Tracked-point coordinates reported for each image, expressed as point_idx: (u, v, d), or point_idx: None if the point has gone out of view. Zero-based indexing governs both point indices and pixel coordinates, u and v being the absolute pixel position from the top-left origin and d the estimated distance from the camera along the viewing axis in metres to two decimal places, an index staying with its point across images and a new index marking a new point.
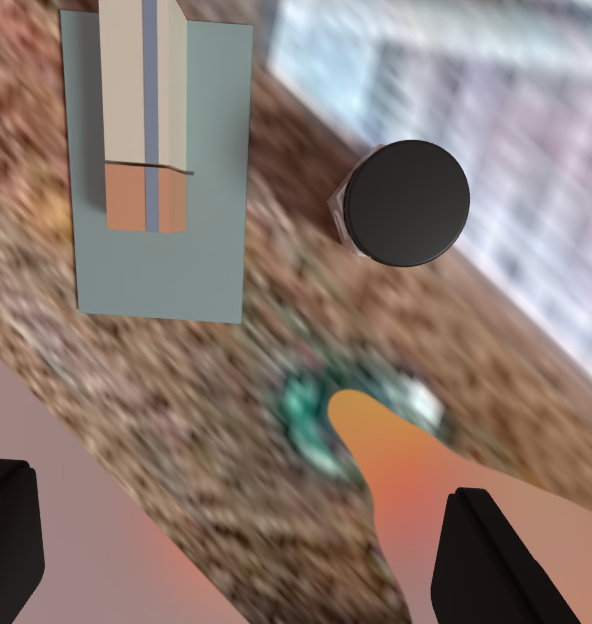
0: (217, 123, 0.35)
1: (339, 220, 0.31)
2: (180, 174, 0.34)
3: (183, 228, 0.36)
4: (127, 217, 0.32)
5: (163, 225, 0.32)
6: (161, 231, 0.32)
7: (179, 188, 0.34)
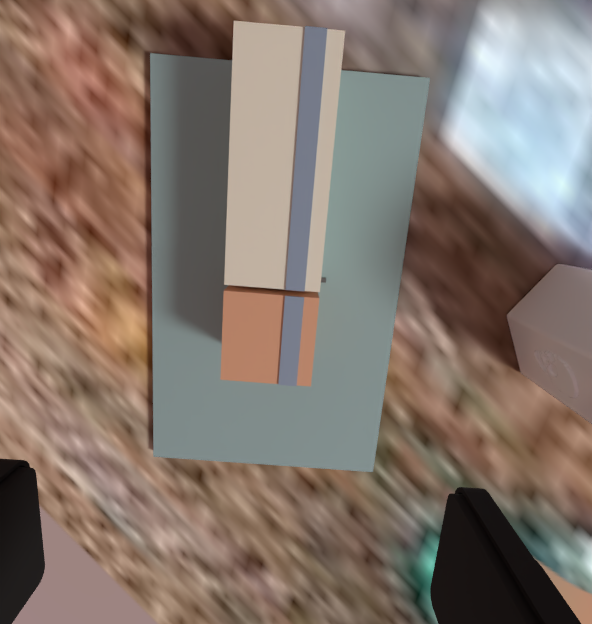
0: (365, 213, 0.25)
1: (573, 376, 0.21)
2: None
3: None
4: (250, 365, 0.22)
5: (303, 376, 0.22)
6: (300, 384, 0.22)
7: None
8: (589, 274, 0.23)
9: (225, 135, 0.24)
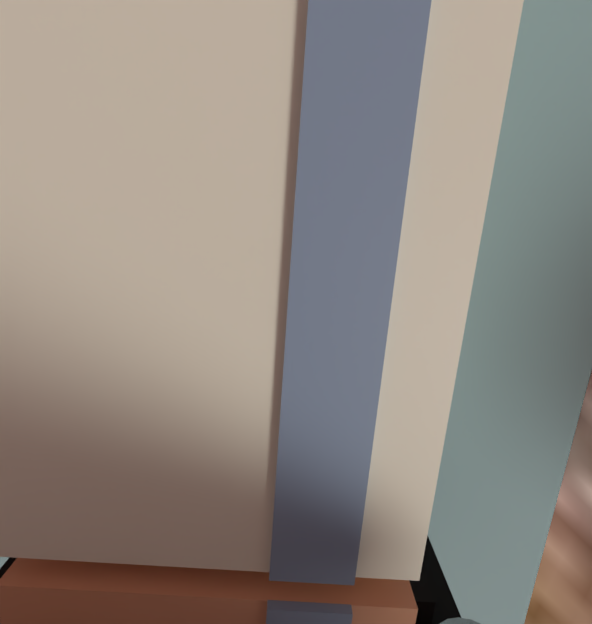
0: (503, 226, 0.09)
1: None
2: None
3: None
4: None
5: None
6: None
7: None
8: None
9: None
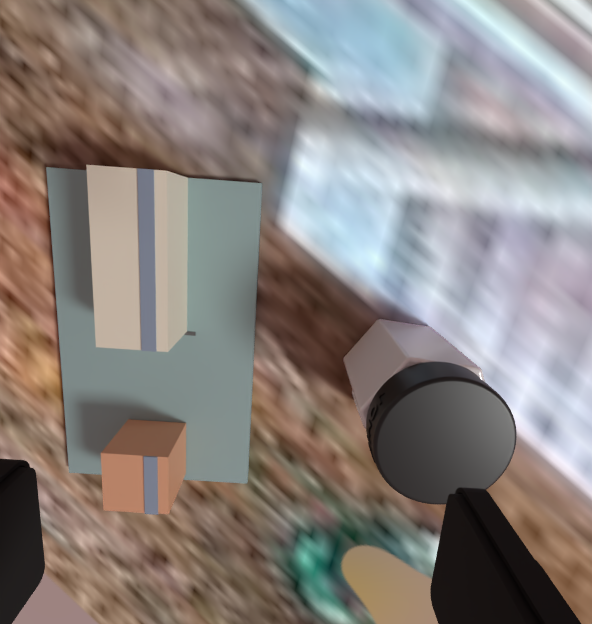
0: (221, 283, 0.32)
1: (360, 413, 0.28)
2: (180, 435, 0.33)
3: (183, 476, 0.35)
4: (124, 500, 0.30)
5: (162, 507, 0.31)
6: (160, 512, 0.31)
7: (179, 450, 0.33)
8: (384, 332, 0.30)
9: None
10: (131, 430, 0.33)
